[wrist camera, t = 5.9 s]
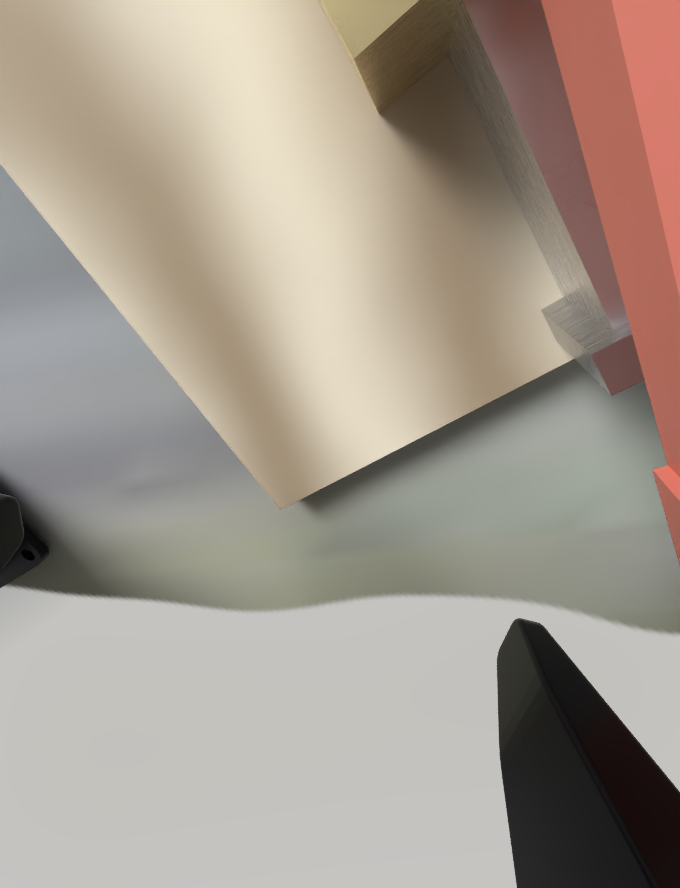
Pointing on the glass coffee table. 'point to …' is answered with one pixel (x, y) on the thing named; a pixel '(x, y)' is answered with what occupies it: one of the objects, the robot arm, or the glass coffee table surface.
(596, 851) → the robot arm
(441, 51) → the valve body
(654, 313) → the lever
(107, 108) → the board
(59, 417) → the glass coffee table surface
